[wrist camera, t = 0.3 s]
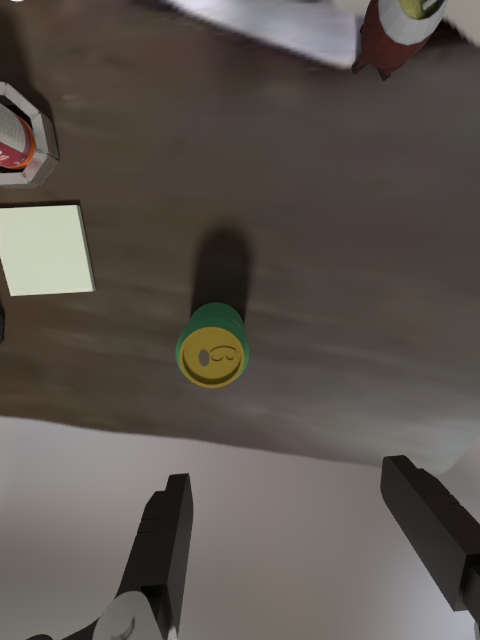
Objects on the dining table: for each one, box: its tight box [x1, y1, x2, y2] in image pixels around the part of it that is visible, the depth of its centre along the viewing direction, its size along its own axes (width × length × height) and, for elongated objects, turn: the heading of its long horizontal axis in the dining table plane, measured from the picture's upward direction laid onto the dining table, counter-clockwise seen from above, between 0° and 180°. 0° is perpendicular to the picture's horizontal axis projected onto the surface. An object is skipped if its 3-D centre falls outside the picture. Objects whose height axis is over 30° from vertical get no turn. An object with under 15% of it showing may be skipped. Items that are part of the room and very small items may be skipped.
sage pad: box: [0, 205, 96, 296], centre depth 34 cm, size 11×11×1 cm
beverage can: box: [176, 302, 249, 388], centre depth 33 cm, size 8×8×12 cm
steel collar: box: [0, 82, 59, 189], centre depth 31 cm, size 10×10×2 cm
